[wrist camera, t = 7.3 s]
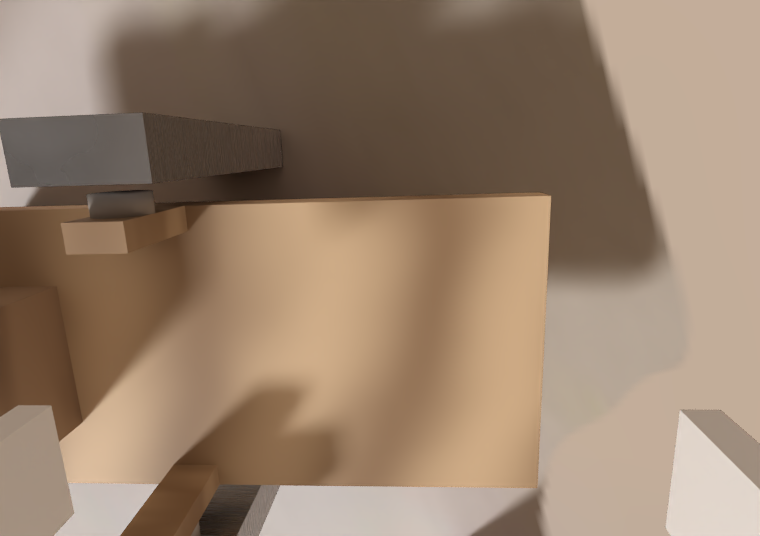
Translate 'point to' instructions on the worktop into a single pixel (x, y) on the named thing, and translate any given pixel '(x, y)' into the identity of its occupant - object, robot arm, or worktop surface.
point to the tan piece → (294, 340)
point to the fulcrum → (145, 166)
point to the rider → (36, 355)
